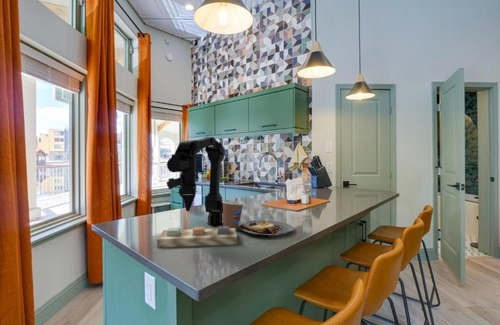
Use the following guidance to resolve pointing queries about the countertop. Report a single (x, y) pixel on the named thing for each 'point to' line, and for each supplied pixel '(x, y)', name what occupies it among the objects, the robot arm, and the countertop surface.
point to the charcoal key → (223, 229)
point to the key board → (197, 238)
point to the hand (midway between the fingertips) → (188, 208)
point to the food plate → (265, 227)
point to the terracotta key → (199, 231)
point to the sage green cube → (173, 231)
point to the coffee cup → (232, 213)
